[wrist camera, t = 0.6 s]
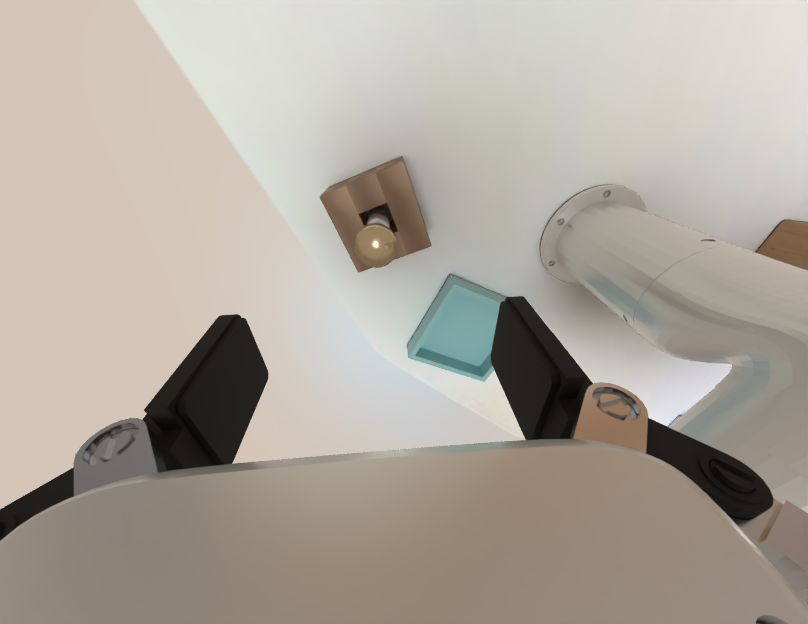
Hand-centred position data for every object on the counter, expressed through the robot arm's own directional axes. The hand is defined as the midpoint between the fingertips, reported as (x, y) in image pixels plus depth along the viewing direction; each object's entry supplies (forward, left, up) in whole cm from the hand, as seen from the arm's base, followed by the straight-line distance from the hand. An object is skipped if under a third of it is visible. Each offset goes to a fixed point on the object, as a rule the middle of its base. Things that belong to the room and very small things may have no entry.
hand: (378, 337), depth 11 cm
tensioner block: (0, +3, -27) cm, 27 cm away
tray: (-19, +13, -27) cm, 36 cm away
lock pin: (0, +3, -27) cm, 27 cm away
